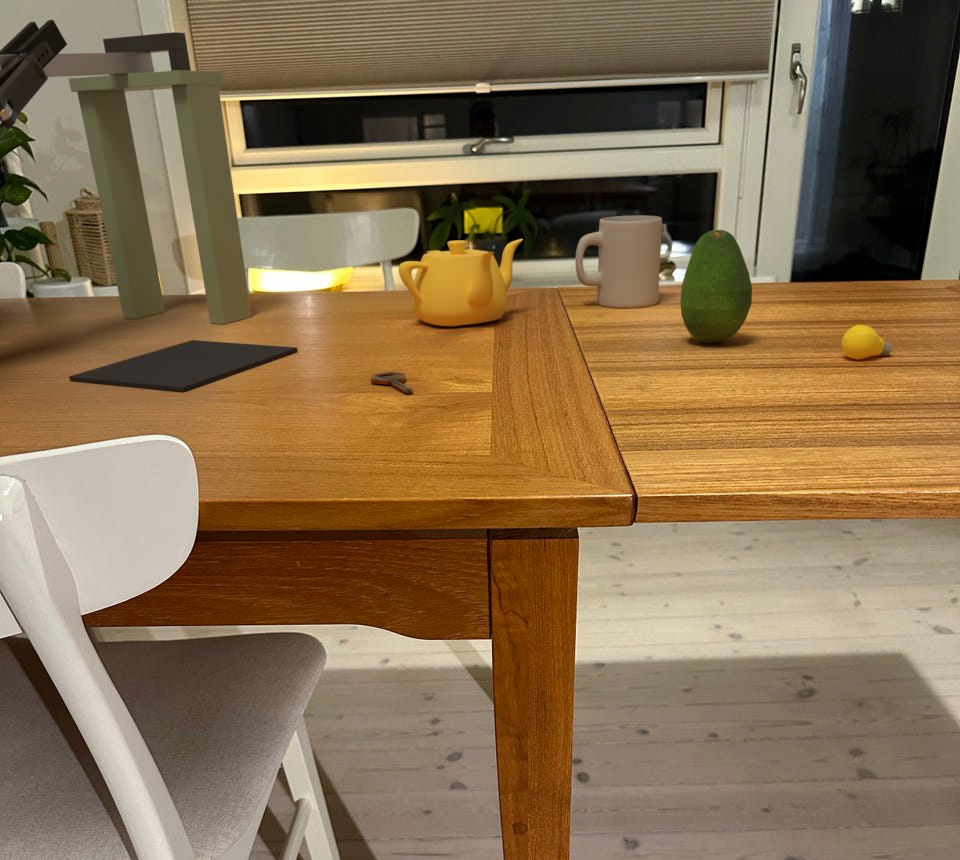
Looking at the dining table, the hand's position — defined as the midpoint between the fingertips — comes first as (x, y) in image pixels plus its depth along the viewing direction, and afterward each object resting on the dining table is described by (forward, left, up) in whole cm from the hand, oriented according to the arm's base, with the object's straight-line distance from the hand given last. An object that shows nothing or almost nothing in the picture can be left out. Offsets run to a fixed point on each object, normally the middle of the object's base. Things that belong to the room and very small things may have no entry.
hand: (48, 33), depth 109 cm
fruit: (+75, +17, -34) cm, 84 cm away
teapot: (+41, +22, -34) cm, 58 cm away
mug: (+56, +39, -34) cm, 76 cm away
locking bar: (0, +3, -4) cm, 5 cm away
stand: (0, +14, -34) cm, 37 cm away
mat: (+22, -11, -34) cm, 42 cm away
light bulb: (+92, +14, -34) cm, 99 cm away
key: (+50, -12, -34) cm, 62 cm away
